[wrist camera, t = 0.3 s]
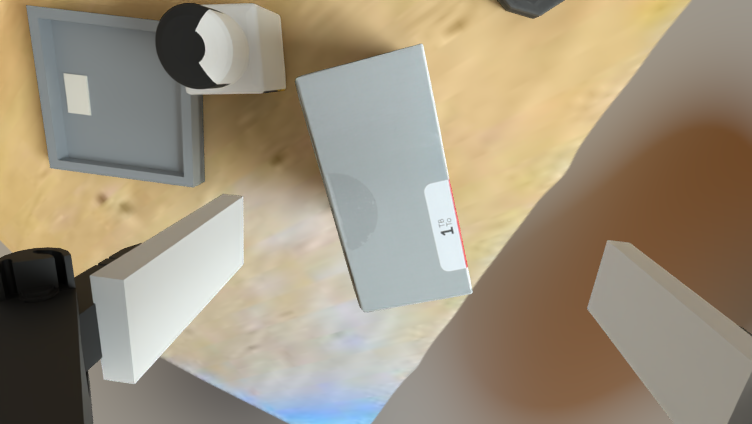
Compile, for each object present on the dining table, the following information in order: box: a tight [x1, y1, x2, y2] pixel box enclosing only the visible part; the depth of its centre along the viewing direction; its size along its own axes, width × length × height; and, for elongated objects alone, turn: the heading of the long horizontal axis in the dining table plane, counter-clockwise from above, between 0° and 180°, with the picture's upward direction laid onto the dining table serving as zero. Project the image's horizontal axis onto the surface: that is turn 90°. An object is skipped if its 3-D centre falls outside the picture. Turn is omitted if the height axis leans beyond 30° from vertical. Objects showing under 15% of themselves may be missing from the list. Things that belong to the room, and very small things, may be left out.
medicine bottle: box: [155, 3, 286, 95], centre depth 36 cm, size 7×7×12 cm
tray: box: [26, 5, 205, 187], centre depth 43 cm, size 16×16×2 cm
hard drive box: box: [295, 44, 473, 312], centre depth 34 cm, size 16×8×20 cm, turn 14°
